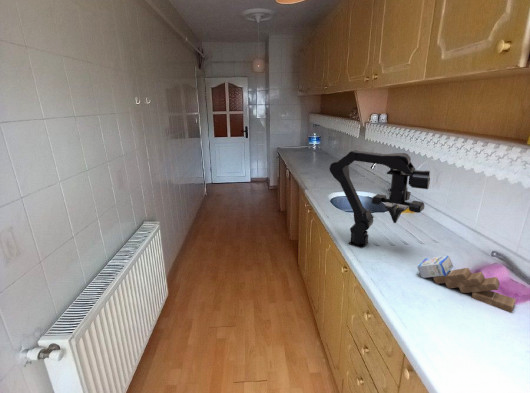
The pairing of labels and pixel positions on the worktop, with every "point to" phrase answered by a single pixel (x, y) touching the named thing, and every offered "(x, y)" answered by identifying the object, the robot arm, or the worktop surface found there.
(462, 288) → the walnut domino
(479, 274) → the walnut domino
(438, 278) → the walnut domino
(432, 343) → the worktop surface
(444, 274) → the medicine box
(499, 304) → the walnut domino
